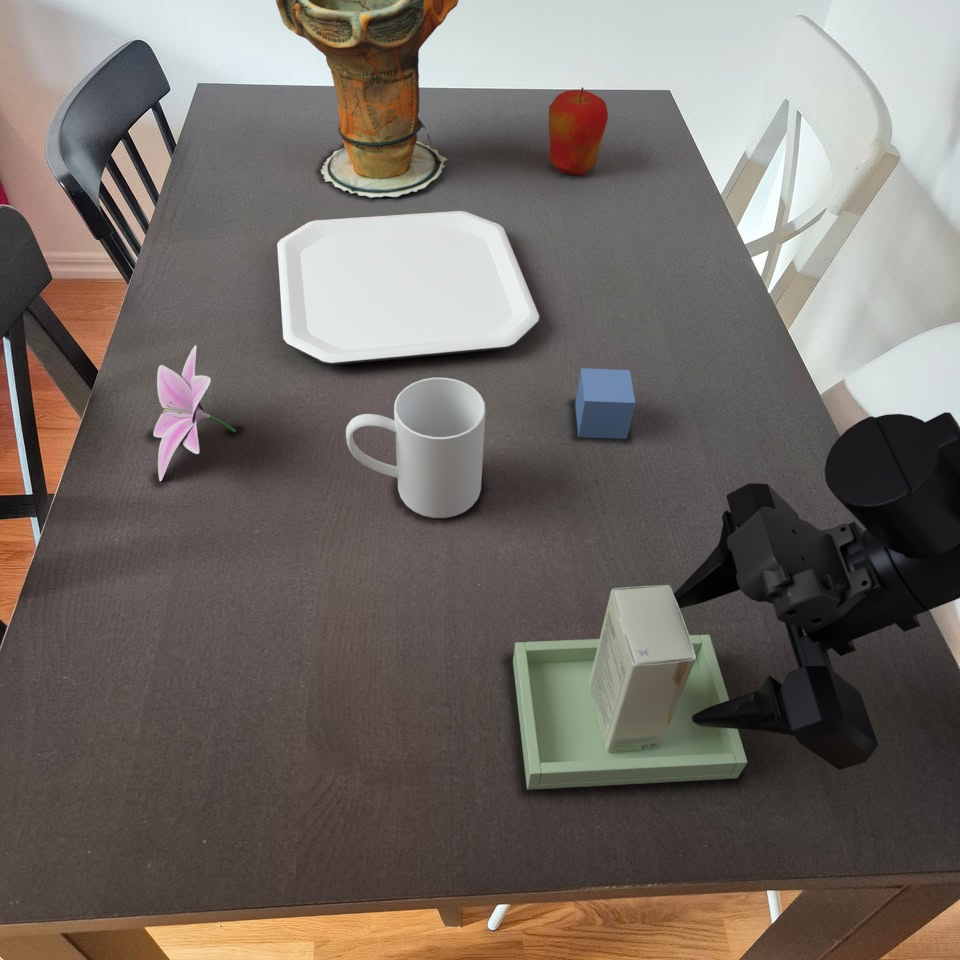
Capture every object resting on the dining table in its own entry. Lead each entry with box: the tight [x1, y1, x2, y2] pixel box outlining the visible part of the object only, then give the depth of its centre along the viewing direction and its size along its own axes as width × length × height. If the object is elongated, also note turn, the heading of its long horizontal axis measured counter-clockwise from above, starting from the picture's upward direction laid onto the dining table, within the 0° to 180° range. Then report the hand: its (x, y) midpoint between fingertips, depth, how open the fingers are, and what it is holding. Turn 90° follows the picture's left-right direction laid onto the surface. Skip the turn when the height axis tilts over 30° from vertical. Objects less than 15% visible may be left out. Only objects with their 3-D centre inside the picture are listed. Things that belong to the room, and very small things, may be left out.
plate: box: [276, 210, 541, 366], centre depth 100 cm, size 29×29×2 cm
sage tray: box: [512, 634, 748, 791], centre depth 63 cm, size 16×11×3 cm
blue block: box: [574, 367, 636, 440], centre depth 85 cm, size 5×5×5 cm
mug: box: [345, 377, 486, 519], centre depth 75 cm, size 12×8×10 cm, turn 99°
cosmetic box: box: [589, 584, 696, 752], centre depth 59 cm, size 6×4×12 cm
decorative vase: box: [275, 0, 459, 199], centre depth 111 cm, size 21×23×28 cm
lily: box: [153, 344, 237, 482], centre depth 80 cm, size 12×12×10 cm
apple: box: [548, 87, 609, 176], centre depth 119 cm, size 9×8×12 cm
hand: (683, 659), depth 58 cm, fingers open, 9 cm apart
